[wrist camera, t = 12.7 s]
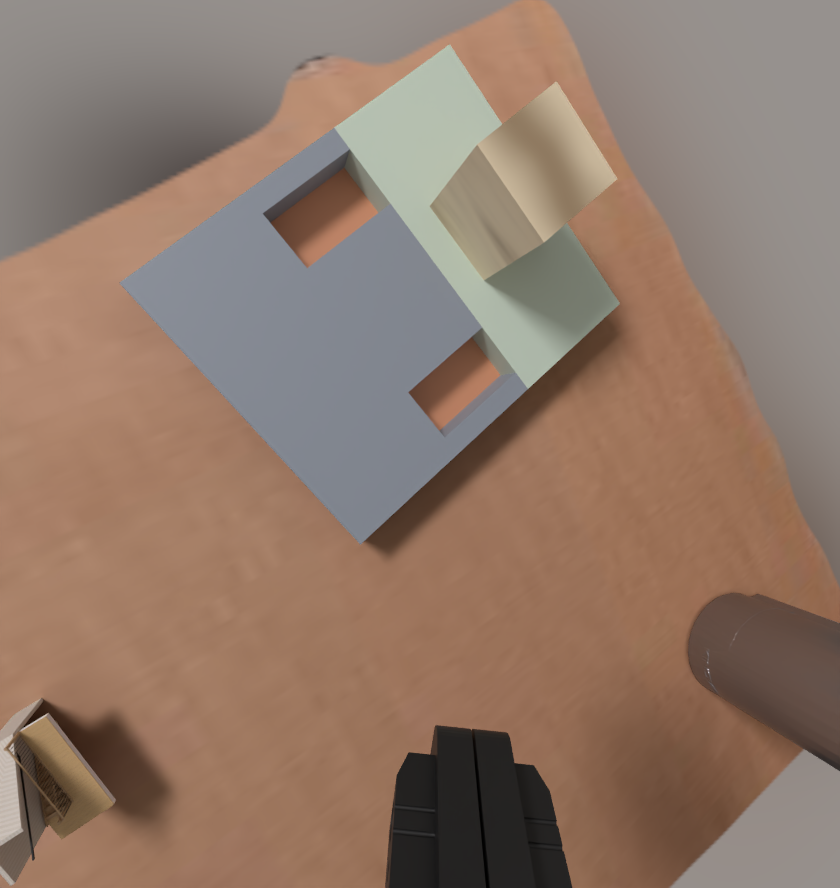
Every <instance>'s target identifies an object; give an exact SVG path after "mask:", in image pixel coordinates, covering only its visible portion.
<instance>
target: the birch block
mask: <svg viewBox="0 0 840 888" xmlns="http://www.w3.org/2000/svg"><path fill="white" fill-rule="evenodd" d="M615 180H617V178H616V176H615V174H614V173H613V171H612V170H611V168H610V166H609V165H608V163H607V161H606V160H605V158H604V157H603V155H602V153H601V152H600V150H599V149H598V147H597V145H596V144H595V142H594V141H593V139H592V137H591V136H590V134H589V133H588V131H587V129H586V128H585V126H584V125H583V123H582V121H581V120H580V118H579V117H578V115H577V113H576V112H575V110H574V109H573V107H572V105H571V104H570V102H569V101H568V99H567V97H566V96H565V94H564V93H563V91H562V89H561V88H560V86H559V84H558V83H557V81H556V82H555V83H554V84H553V85H551V86H550V87H549V88H548V89H546V90H545V91H544V92H543V93H541V94H540V95H539V96H537V97H536V98H535V99H534V100H532V101H531V102H530V103H529V104H527V105H526V106H525V107H524V108H522V109H521V110H520V111H519V112H517V113H516V114H515V115H514V116H512V117H511V118H510V119H509V120H507V121H506V122H505V123H504V124H502V125H501V126H500V127H498V128H497V129H496V130H495V131H493V132H492V133H491V134H490V135H488V136H487V137H486V138H485V139H483V140H482V141H481V142H480V143H478V144H477V145H476V147H475V148H474V149H473V150H472V152H471V153H470V154H469V156H468V157H467V158H466V160H465V161H464V162H463V163H462V165H461V166H460V167H459V169H458V170H457V171H456V173H455V174H454V175H453V176H452V178H451V179H450V180H449V182H448V183H447V184H446V186H445V187H444V188H443V189H442V191H441V192H440V193H439V195H438V196H437V197H436V199H435V200H434V201H433V202H432V204H431V205H430V208H431V209H432V210H433V212H434V213H435V214H436V216H437V217H438V219H439V220H440V221H441V223H442V224H443V225H444V227H445V228H446V229H447V231H448V232H449V234H450V235H451V236H452V238H453V239H454V240H455V242H456V243H457V244H458V246H459V247H460V249H461V250H462V251H463V253H464V254H465V255H466V257H467V258H468V260H469V261H470V262H471V264H472V265H473V266H474V268H475V269H476V270H477V272H478V273H479V275H480V276H481V277H482V279H483V280H485V279H487V278H489V277H490V276H492V275H493V274H495V273H497V272H498V271H500V270H501V269H503V268H505V267H506V266H508V265H509V264H511V263H513V262H514V261H516V260H517V259H519V258H521V257H522V256H524V255H525V254H527V253H528V252H530V251H532V250H533V249H535V248H536V247H538V246H540V245H541V244H543V243H544V242H545V241H547V240H548V239H549V238H550V237H551V236H552V235H554V234H555V233H556V232H557V231H558V230H559V229H560V228H562V227H563V226H564V225H565V224H566V223H567V222H568V221H570V220H571V219H572V218H573V217H574V216H575V215H576V214H578V213H579V212H580V211H581V210H582V209H583V208H584V207H586V206H587V205H588V204H589V203H590V202H591V201H592V200H594V199H595V198H596V197H597V196H598V195H599V194H600V193H602V192H603V191H604V190H605V189H606V188H607V187H608V186H610V185H611V184H612V183H613V182H614V181H615Z"/></svg>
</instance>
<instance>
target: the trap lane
mask: <svg viewBox="0 0 840 888" xmlns="http://www.w3.org/2000/svg"><path fill="white" fill-rule="evenodd" d="M501 125H502V123H501V122H500V120H499V119H498V117H497V116H496V114H495V113H494V111H493V110H492V108H491V107H490V105H489V103H488V102H487V100H486V99H485V97H484V96H483V94H482V93H481V91H480V90H479V88H478V87H477V85H476V84H475V82H474V81H473V79H472V78H471V76H470V75H469V73H468V71H467V70H466V68H465V67H464V65H463V64H462V62H461V61H460V59H459V58H458V56H457V55H456V53H455V52H454V50H453V49H452V47H451V46H450V45H448V46H447V47H445V48H444V49H443V50H441V51H440V52H439V53H437V54H436V55H434V56H433V57H432V58H430V59H429V60H427V61H426V62H425V63H423V64H422V65H421V66H419V67H418V68H416V69H415V70H414V71H412V72H411V73H409V74H408V75H407V76H405V77H404V78H403V79H401V80H400V81H398V82H397V83H396V84H394V85H393V86H391V87H390V88H389V89H387V90H386V91H385V92H383V93H382V94H380V95H379V96H378V97H376V98H375V99H373V100H372V101H371V102H369V103H368V104H367V105H365V106H364V107H362V108H361V109H360V110H358V111H357V112H355V113H354V114H353V115H351V116H350V117H348V118H347V119H346V120H344V121H343V122H342V123H340V124H339V125H337V126H336V127H335V128H333V129H332V130H330V131H329V132H328V133H326V134H325V135H324V136H322V137H321V138H319V139H318V140H317V141H315V142H314V143H312V144H311V145H310V146H308V147H307V148H306V149H304V150H303V151H301V152H300V153H299V154H297V155H296V156H294V157H293V158H292V159H290V160H289V161H288V162H286V163H285V164H283V165H282V166H281V167H279V168H278V169H276V170H275V171H274V172H272V173H271V174H270V175H268V176H267V177H265V178H264V179H263V180H261V181H260V182H258V183H257V184H256V185H254V186H253V187H252V188H250V189H249V190H247V191H246V192H245V193H243V194H242V195H240V196H239V197H238V198H236V199H235V200H234V201H232V202H231V203H229V204H228V205H227V206H225V207H224V208H222V209H221V210H220V211H218V212H217V213H216V214H214V215H213V216H211V217H210V218H209V219H207V220H206V221H204V222H203V223H202V224H200V225H199V226H198V227H196V228H195V229H193V230H192V231H191V232H189V233H188V234H186V235H185V236H184V237H182V238H181V239H180V240H178V241H177V242H175V243H174V244H173V245H171V246H170V247H168V248H167V249H166V250H164V251H163V252H162V253H160V254H159V255H157V256H156V257H155V258H153V259H152V260H150V261H149V262H148V263H146V264H145V265H144V266H142V267H141V268H139V269H138V270H137V271H135V272H134V273H132V274H131V275H130V276H128V277H127V278H126V279H124V280H123V281H121V282H120V284H121V285H122V286H123V288H124V289H125V290H126V291H127V292H128V293H129V294H130V295H131V296H132V297H133V298H134V299H135V301H136V302H137V303H138V304H139V305H140V306H141V307H142V308H143V309H144V310H145V311H146V312H147V314H148V315H149V316H150V317H151V318H152V319H153V320H154V321H155V322H156V323H157V324H158V325H159V327H160V328H161V329H162V330H163V331H164V332H165V333H166V334H167V335H168V336H169V337H170V338H171V340H172V341H173V342H174V343H175V344H176V345H177V346H178V347H179V348H180V349H181V350H182V352H183V353H184V354H185V355H186V356H187V357H188V358H189V359H190V360H191V361H192V362H193V363H194V365H195V366H196V367H197V368H198V369H199V370H200V371H201V372H202V373H203V374H204V375H205V376H206V378H207V379H208V380H209V381H210V382H211V383H212V384H213V385H214V386H215V387H216V388H217V389H218V391H219V392H220V393H221V394H222V395H223V396H224V397H225V398H226V399H227V400H228V401H229V402H230V404H231V405H232V406H233V407H234V408H235V409H236V410H237V411H238V412H239V413H240V414H241V416H242V417H243V418H244V419H245V420H246V421H247V422H248V423H249V424H250V425H251V426H252V427H253V429H254V430H255V431H256V432H257V433H258V434H259V435H260V436H261V437H262V438H263V439H264V440H265V442H266V443H267V444H268V445H269V446H270V447H271V448H272V449H273V450H274V451H275V452H276V453H277V455H278V456H279V457H280V458H281V459H282V460H283V461H284V462H285V463H286V464H287V465H288V466H289V468H290V469H291V470H292V471H293V472H294V473H295V474H296V475H297V476H298V477H299V478H300V480H301V481H302V482H303V483H304V484H305V485H306V486H307V487H308V488H309V489H310V490H311V491H312V493H313V494H314V495H315V496H316V497H317V498H318V499H319V500H320V501H321V502H322V503H323V504H324V506H325V507H326V508H327V509H328V510H329V511H330V512H331V513H332V514H333V515H334V516H335V517H336V519H337V520H338V521H339V522H340V523H341V524H342V525H343V526H344V527H345V528H346V529H347V530H348V532H349V533H350V534H351V535H352V536H353V537H354V538H355V539H356V540H357V541H358V542H359V544H361V543H363V542H364V541H365V540H366V539H367V538H368V537H369V536H370V535H371V534H372V533H373V532H374V531H375V530H377V529H378V528H379V527H380V526H381V525H382V524H383V523H384V522H385V521H386V520H387V519H388V518H389V517H391V516H392V515H393V514H394V513H395V512H396V511H397V510H398V509H399V508H400V507H401V506H402V505H403V504H405V503H406V502H407V501H408V500H409V499H410V498H411V497H412V496H413V495H414V494H415V493H416V492H418V491H419V490H420V489H421V488H422V487H423V486H424V485H425V484H426V483H427V482H428V481H429V480H430V479H432V478H433V477H434V476H435V475H436V474H437V473H438V472H439V471H440V470H441V469H442V468H443V467H444V466H446V465H447V464H448V463H449V462H450V461H451V460H452V459H453V458H454V457H455V456H456V455H457V454H458V453H460V452H461V451H462V450H463V449H464V448H465V447H466V446H467V445H468V444H469V443H470V442H471V441H472V440H474V439H475V438H476V437H477V436H478V435H479V434H480V433H481V432H482V431H483V430H484V429H485V428H486V427H488V426H489V425H490V424H491V423H492V422H493V421H494V420H495V419H496V418H497V417H498V416H499V415H500V414H502V413H503V412H504V411H505V410H506V409H507V408H508V407H509V406H510V405H511V404H512V403H513V402H515V401H516V400H517V399H518V398H519V397H520V396H521V395H522V394H523V393H524V392H525V391H526V390H527V389H529V388H530V387H531V386H532V385H533V384H534V383H535V382H536V381H537V380H538V379H539V378H540V377H541V376H543V375H544V374H545V373H546V372H547V371H548V370H549V369H550V368H551V367H552V366H553V365H554V364H555V363H557V362H558V361H559V360H560V359H561V358H562V357H563V356H564V355H565V354H566V353H567V352H568V351H569V350H571V349H572V348H573V347H574V346H575V345H576V344H577V343H578V342H579V341H580V340H581V339H582V338H583V337H585V336H586V335H587V334H588V333H589V332H590V331H591V330H592V329H593V328H594V327H595V326H596V325H597V324H599V323H600V322H601V321H602V320H603V319H604V318H605V317H606V316H607V315H608V314H609V313H610V312H612V311H613V310H614V309H615V308H616V307H617V306H618V305H619V304H620V303H619V301H618V300H617V298H616V297H615V295H614V294H613V292H612V291H611V289H610V288H609V286H608V285H607V283H606V282H605V280H604V279H603V277H602V276H601V274H600V273H599V271H598V269H597V268H596V266H595V265H594V263H593V262H592V260H591V259H590V257H589V256H588V254H587V253H586V251H585V250H584V248H583V247H582V245H581V244H580V242H579V241H578V239H577V238H576V236H575V234H574V233H573V231H572V230H571V228H570V227H569V225H568V224H567V223H566V224H565V225H564V226H563V227H562V228H560V229H559V230H558V231H557V232H556V233H555V234H554V235H552V236H551V237H550V238H549V239H548V240H547V241H545V242H544V243H543V244H541V245H540V246H538V247H536V248H535V249H533V250H532V251H530V252H528V253H527V254H525V255H524V256H522V257H521V258H519V259H517V260H516V261H514V262H513V263H511V264H509V265H508V266H506V267H505V268H503V269H501V270H500V271H498V272H497V273H495V274H493V275H492V276H490V277H489V278H487V279H485V280H483V279H482V277H481V276H480V275H479V273H478V272H477V270H476V269H475V268H474V266H473V265H472V264H471V262H470V261H469V260H468V258H467V257H466V255H465V254H464V253H463V251H462V250H461V249H460V247H459V246H458V244H457V243H456V242H455V240H454V239H453V238H452V236H451V235H450V234H449V232H448V231H447V229H446V228H445V227H444V225H443V224H442V223H441V221H440V220H439V219H438V217H437V216H436V214H435V213H434V212H433V210H432V209H431V208H430V205H431V204H432V202H433V201H434V200H435V199H436V197H437V196H438V195H439V193H440V192H441V191H442V189H443V188H444V187H445V186H446V184H447V183H448V182H449V180H450V179H451V178H452V176H453V175H454V174H455V173H456V171H457V170H458V169H459V167H460V166H461V165H462V163H463V162H464V161H465V160H466V158H467V157H468V156H469V154H470V153H471V152H472V150H473V149H474V148H475V147H476V145H477V144H478V143H480V142H481V141H482V140H483V139H485V138H486V137H487V136H488V135H490V134H491V133H492V132H493V131H495V130H496V129H497V128H498V127H500V126H501Z"/></svg>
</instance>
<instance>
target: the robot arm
mask: <svg viewBox="0 0 840 888" xmlns="http://www.w3.org/2000/svg"><path fill="white" fill-rule="evenodd" d="M688 655H689V663H690V666H691V669H692V672H693V674H694V675H695V677H696V679H697V680H698V681H699V682H700V683H701V684H702V685H703V686H704V687H706V688H708V689H709V690H711V691H712V692H714V693H716V694H717V695H719V696H720V697H722V698H724V699H725V700H727V701H728V702H730V703H732V704H733V705H735V706H736V707H738V708H740V709H741V710H743V711H744V712H746V713H747V714H749V715H750V716H752V717H754V718H755V719H757V720H759V721H760V722H762V723H763V724H765V725H767V726H768V727H770V728H771V729H773V730H775V731H776V732H778V733H779V734H781V735H783V736H784V737H786V738H787V739H789V740H791V741H792V742H794V743H795V744H797V745H799V746H800V747H802V748H803V749H805V750H807V751H808V752H810V753H812V754H813V755H815V756H816V757H818V758H820V759H821V760H823V761H825V762H826V763H828V764H829V765H831V766H832V767H834V768H836V769H837V770H839V771H840V623H837V622H835V621H832V620H829V619H826V618H824V617H821V616H818V615H815V614H813V613H810V612H807V611H804V610H802V609H799V608H796V607H793V606H791V605H788V604H785V603H782V602H780V601H777V600H774V599H771V598H769V597H766V596H763V595H760V594H757V595H755V596H752V597H749V596H746V595H743V594H739V593H730V594H725V595H722V596H720V597H718V598H716V599H714V600H713V601H712V602H710V603H709V604H708V605H707V606H706V607H705V608H704V609H703V611H702V612H701V613H700V615H699V616H698V618H697V619H696V621H695V623H694V626H693V628H692V631H691V635H690V639H689V647H688ZM556 821H557V820H556V816H555V812H554V807H553V803H552V799H551V795H550V791H549V789H548V788H547V786H546V784H545V783H544V781H543V780H542V778H541V776H540V775H539V773H538V771H537V770H536V768H535V767H534V765H526V764H516V763H514V758H513V753H512V747H511V741H510V737H509V735H508V733H506V732H496V731H487V730H477V729H472V731H471V729H466V728H457V727H447V726H438V725H436V726H435V729H434V735H433V741H432V748H431V754H430V755H429V754H419V753H410V752H409V753H408V755H407V757H406V759H405V761H404V763H403V764H402V766H401V768H400V770H399V772H398V774H397V778H396V785H395V793H394V800H393V808H392V815H391V823H390V830H389V844H388V857H387V870H386V883H385V888H572V884H571V880H570V876H569V872H568V867H567V863H566V859H565V854H564V852H563V851H562V842H561V837H560V833H559V829H558V826H557V825H556Z"/></svg>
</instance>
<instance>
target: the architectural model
mask: <svg viewBox="0 0 840 888" xmlns="http://www.w3.org/2000/svg"><path fill="white" fill-rule="evenodd" d="M43 701H44V700H43V699H42V698H41V699H39V700H37V701H36V702H34V703H32V704H31V705H29V706H27V707H26V708H24V709H22V710H21V711H19V712H17V713H16V714H14V715H13V716H12V718H11V719H10V720H9V721H8V722H7V724H6V725H5V726H4V727H3V728H2V729H1V731H0V874H1V875H2V876H3V878H4V879H5V880H6V881H7V882H8V883H9V885H10V886H11V885H13V884H14V883H15V882H16V880H17V879H18V877H19V875H20V873H21V871H22V869H23V868H24V866H25V864H26V862H27V860H28V858H29V857H30V855H31V853H32V860H34V859H35V857H34V850H33V849H34V847H35V846H36V844H37V842H38V840H39V838H40V836H41V835H42V833H43V831H44V829H45V827H46V826H47V827H48V825H50V826H51V827H52V828H53V830H54V831H55V832H56V833H57V835H58V836H59V837H60V838H61V839H63V838H64V837H66V836H67V835H69V834H70V833H72V832H74V831H75V830H77V829H78V828H80V827H81V826H83V825H84V824H86V823H87V822H89V821H90V820H92V819H93V818H95V817H96V816H98V815H99V814H101V813H102V812H104V811H105V810H107V809H108V808H110V807H111V806H113V805H114V803H115V801H116V799H115V798H114V797H113V795H112V794H111V793H110V792H109V790H108V789H107V788H106V786H105V785H104V784H103V782H102V781H101V780H100V779H99V777H98V776H97V775H96V773H95V772H94V771H93V770H92V768H91V767H90V766H89V764H88V763H87V762H86V761H85V759H84V758H83V757H82V755H81V754H80V753H79V751H78V750H77V749H76V748H75V746H74V745H73V744H72V742H71V741H70V740H69V739H68V737H67V736H66V735H65V733H64V732H63V731H62V730H61V728H60V727H59V725H58V721H55V720H54V719H53V718H52V717H51V715H50V714H49V713H47V714H46V715H44V716H42V717H41V718H39V719H37V720H36V721H34V722H32V723H31V724H29V725H28V726H27V725H26V722H27V721H28V720H29V719H30V717H31V716H32V715H33V714H34V712H35V711H36V710H37V709H38V707H39V706H40V705H41V703H42V702H43ZM24 725H25V726H26V727H24Z"/></svg>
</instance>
